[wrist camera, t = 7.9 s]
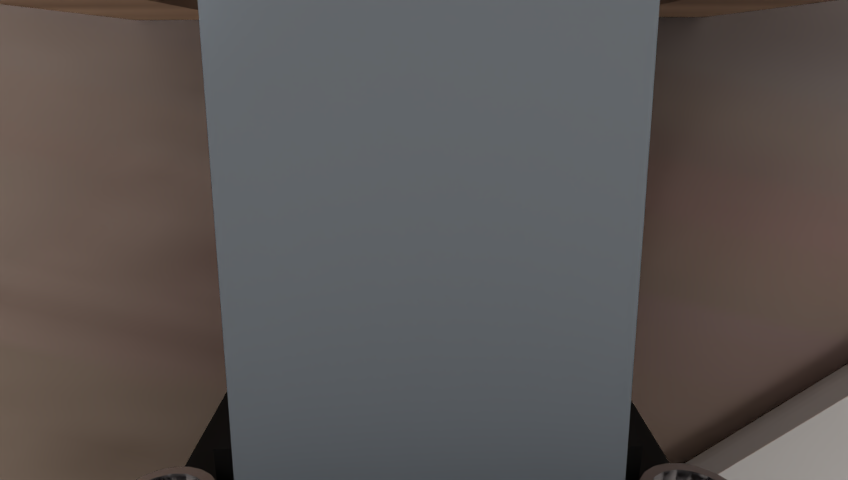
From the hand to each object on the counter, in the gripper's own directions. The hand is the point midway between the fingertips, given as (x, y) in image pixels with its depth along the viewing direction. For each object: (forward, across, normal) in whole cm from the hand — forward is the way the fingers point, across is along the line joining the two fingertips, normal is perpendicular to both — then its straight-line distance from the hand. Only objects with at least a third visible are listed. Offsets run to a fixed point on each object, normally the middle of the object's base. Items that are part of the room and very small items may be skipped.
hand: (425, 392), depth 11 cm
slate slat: (+1, 0, 0) cm, 1 cm away
